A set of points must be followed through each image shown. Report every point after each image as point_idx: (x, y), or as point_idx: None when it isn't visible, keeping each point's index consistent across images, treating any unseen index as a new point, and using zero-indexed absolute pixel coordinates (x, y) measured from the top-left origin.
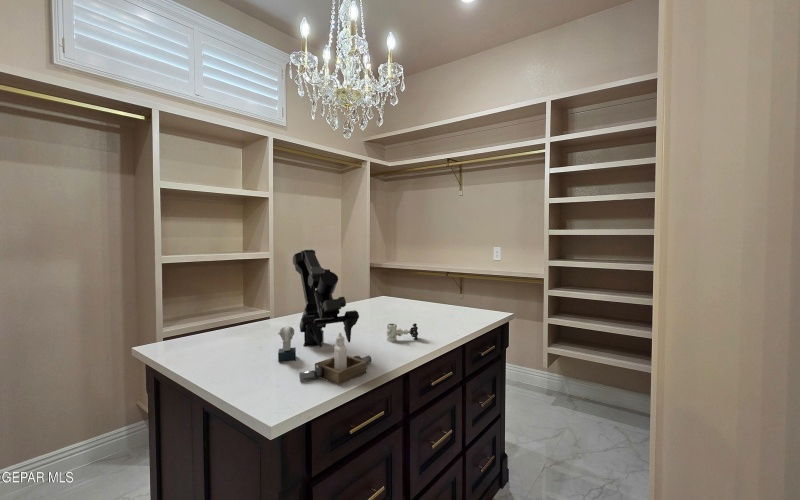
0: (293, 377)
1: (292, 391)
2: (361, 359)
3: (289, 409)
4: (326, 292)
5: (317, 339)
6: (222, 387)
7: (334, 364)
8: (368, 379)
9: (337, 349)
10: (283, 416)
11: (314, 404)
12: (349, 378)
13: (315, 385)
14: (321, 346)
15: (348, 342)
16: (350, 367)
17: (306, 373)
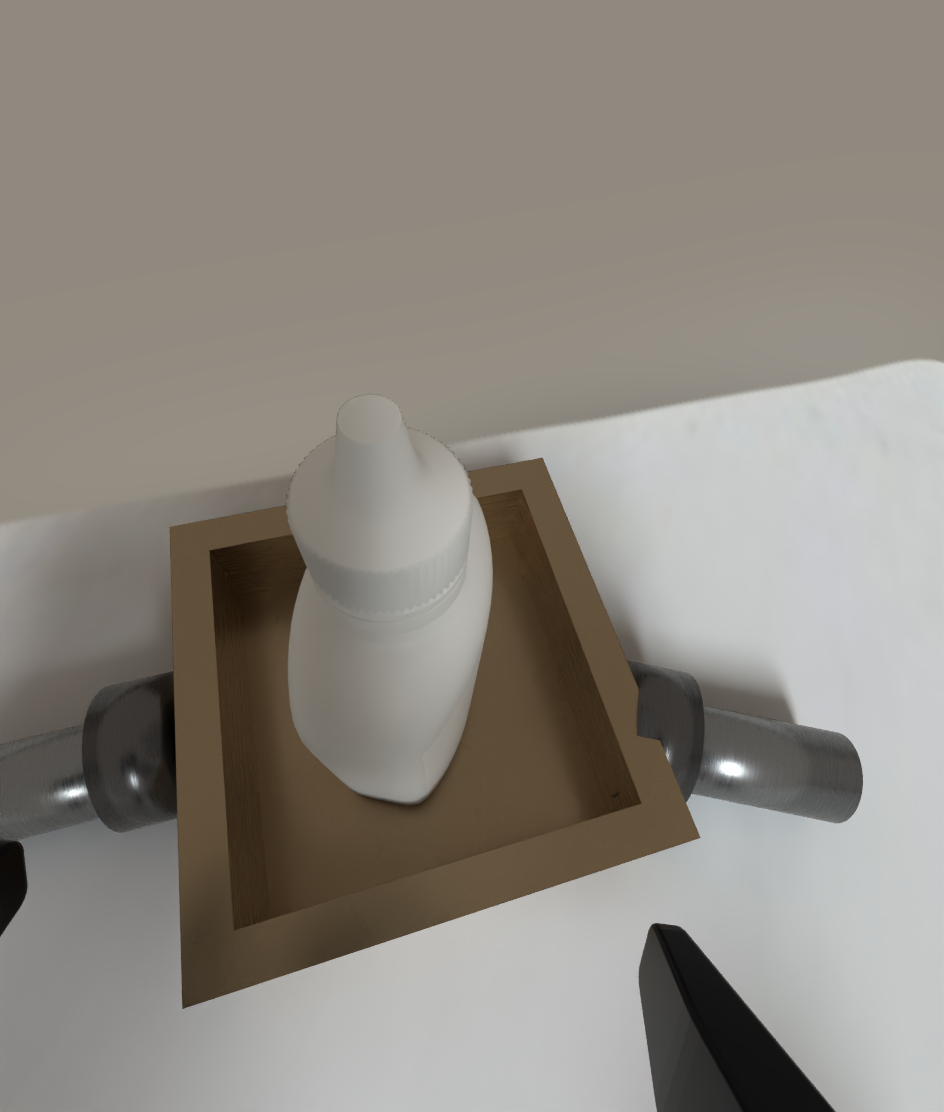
0: (873, 927)
1: (870, 619)
2: (113, 687)
3: (878, 422)
4: None
5: (813, 1109)
6: None
7: (463, 725)
8: (287, 481)
9: (484, 522)
10: (904, 383)
11: (737, 397)
12: None
13: (687, 615)
14: (649, 944)
15: (22, 900)
16: None
17: (786, 731)
